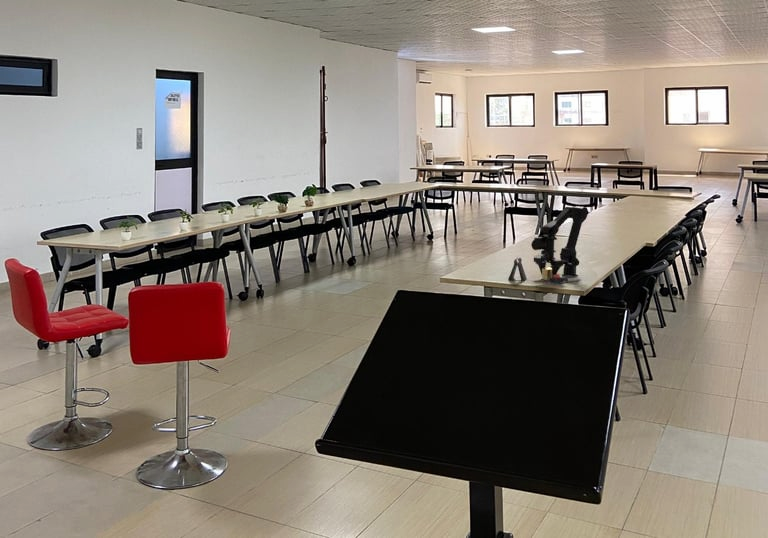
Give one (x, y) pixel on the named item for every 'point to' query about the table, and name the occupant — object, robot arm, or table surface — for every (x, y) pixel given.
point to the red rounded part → (556, 275)
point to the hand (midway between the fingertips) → (547, 276)
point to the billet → (546, 273)
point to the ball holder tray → (563, 279)
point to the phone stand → (521, 271)
